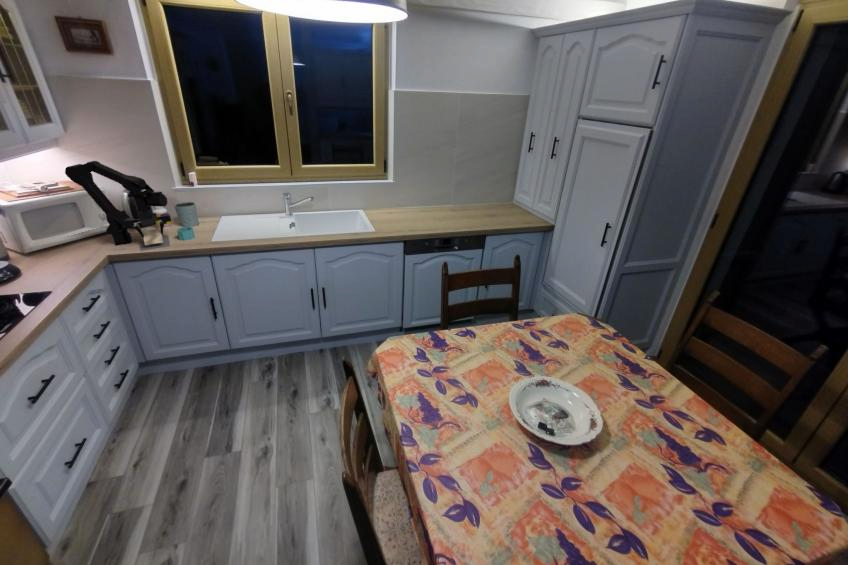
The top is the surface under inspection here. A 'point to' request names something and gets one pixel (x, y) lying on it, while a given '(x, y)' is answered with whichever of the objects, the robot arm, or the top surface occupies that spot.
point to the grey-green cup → (187, 214)
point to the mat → (154, 246)
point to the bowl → (185, 233)
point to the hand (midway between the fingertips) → (153, 236)
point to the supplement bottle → (158, 211)
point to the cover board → (153, 237)
